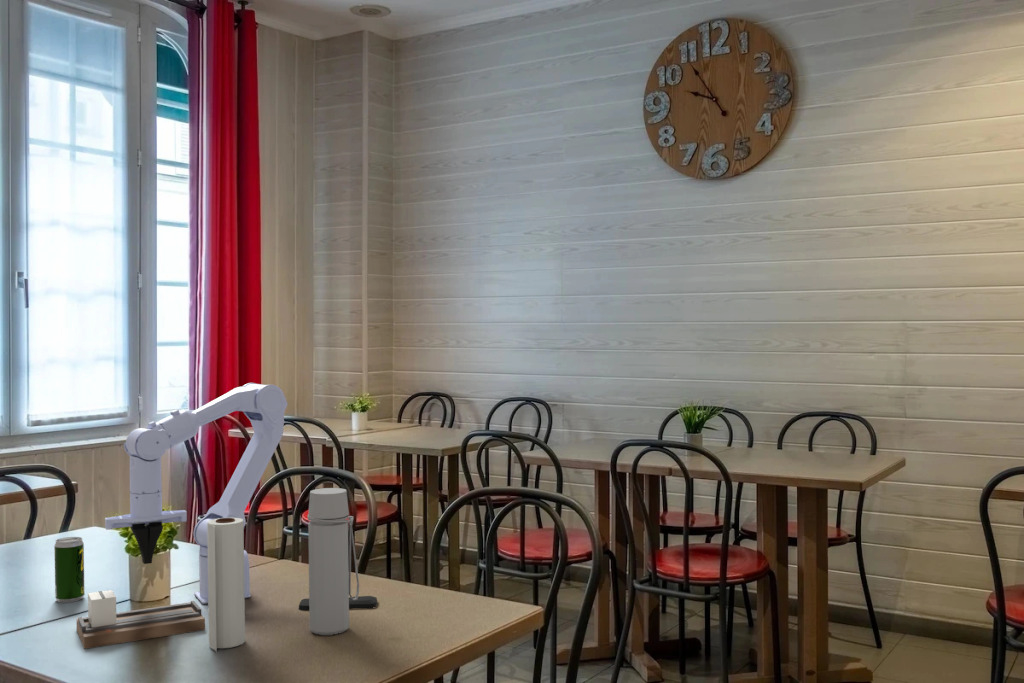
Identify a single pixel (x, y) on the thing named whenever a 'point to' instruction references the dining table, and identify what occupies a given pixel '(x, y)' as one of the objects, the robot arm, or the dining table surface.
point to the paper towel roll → (226, 582)
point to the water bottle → (329, 561)
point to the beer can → (69, 569)
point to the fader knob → (101, 608)
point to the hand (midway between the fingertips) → (147, 562)
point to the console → (143, 625)
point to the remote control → (359, 603)
